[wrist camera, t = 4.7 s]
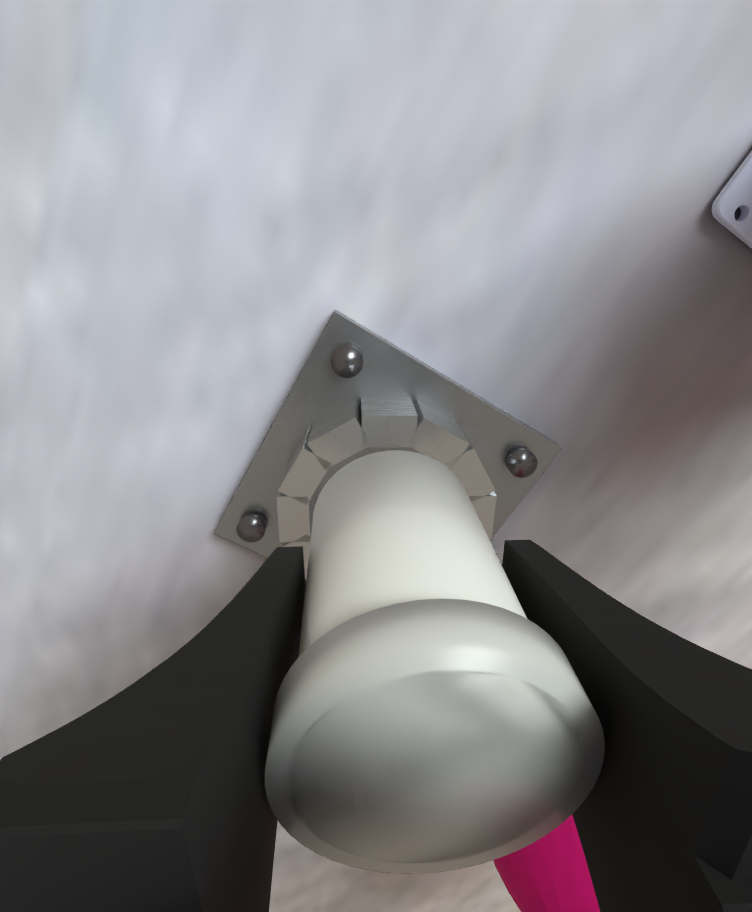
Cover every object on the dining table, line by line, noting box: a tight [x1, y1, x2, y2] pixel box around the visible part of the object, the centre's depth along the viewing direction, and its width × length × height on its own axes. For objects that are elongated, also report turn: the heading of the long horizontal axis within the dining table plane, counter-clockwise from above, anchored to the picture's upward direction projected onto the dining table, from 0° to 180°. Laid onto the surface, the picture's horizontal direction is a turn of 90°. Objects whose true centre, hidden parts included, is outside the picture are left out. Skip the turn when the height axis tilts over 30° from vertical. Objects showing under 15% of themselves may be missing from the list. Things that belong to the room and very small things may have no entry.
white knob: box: [265, 450, 605, 874], centre depth 10 cm, size 5×5×7 cm
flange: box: [214, 310, 561, 579], centre depth 20 cm, size 11×11×3 cm
